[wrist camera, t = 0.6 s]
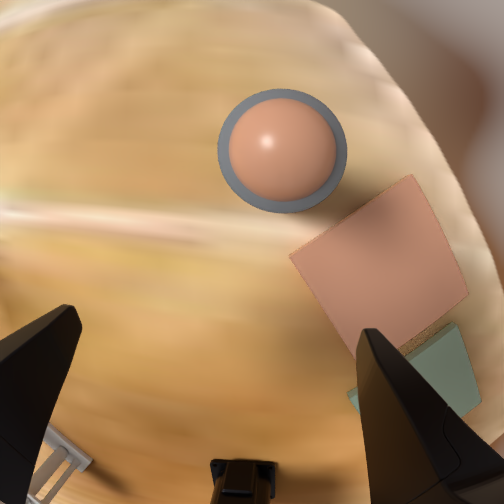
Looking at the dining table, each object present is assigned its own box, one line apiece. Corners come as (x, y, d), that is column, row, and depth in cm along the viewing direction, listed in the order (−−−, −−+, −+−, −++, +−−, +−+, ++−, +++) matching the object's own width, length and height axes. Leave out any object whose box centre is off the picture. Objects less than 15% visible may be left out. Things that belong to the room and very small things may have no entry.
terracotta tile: (463, 290, 22) (469, 293, 21) (359, 365, 23) (362, 371, 22) (407, 175, 21) (412, 174, 20) (288, 255, 23) (289, 257, 22)
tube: (309, 209, 22) (361, 212, 8) (253, 211, 22) (210, 216, 8) (306, 154, 21) (349, 73, 7) (251, 156, 22) (207, 77, 8)
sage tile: (477, 397, 23) (481, 401, 22) (389, 455, 25) (392, 461, 24) (451, 321, 22) (457, 325, 21) (347, 392, 24) (349, 398, 23)
